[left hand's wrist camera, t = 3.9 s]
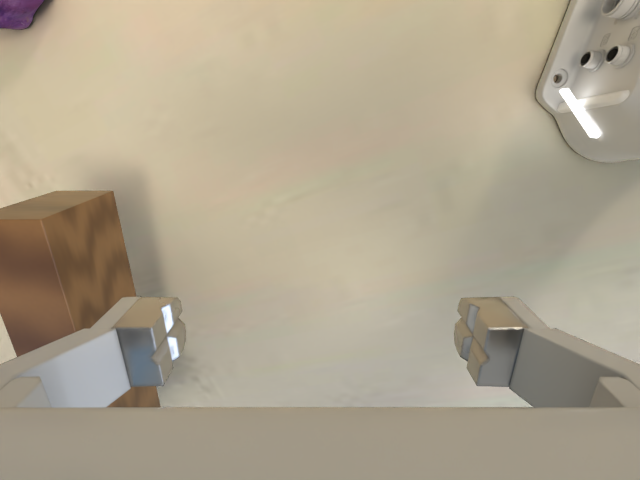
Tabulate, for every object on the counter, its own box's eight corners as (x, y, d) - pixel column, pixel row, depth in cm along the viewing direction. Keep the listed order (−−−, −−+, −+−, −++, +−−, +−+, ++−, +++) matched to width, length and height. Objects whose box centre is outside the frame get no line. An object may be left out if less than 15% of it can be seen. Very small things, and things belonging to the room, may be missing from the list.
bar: (56, 190, 30) (-37, 219, 22) (113, 190, 30) (40, 219, 22) (122, 427, 40) (74, 505, 32) (165, 427, 40) (127, 505, 32)
